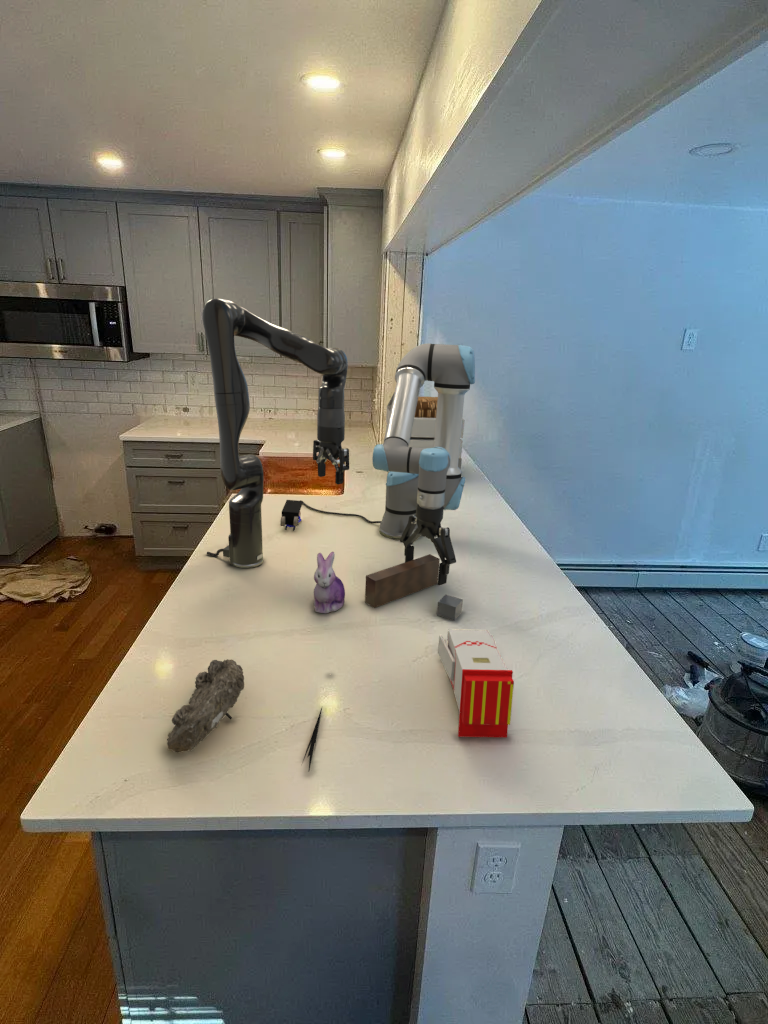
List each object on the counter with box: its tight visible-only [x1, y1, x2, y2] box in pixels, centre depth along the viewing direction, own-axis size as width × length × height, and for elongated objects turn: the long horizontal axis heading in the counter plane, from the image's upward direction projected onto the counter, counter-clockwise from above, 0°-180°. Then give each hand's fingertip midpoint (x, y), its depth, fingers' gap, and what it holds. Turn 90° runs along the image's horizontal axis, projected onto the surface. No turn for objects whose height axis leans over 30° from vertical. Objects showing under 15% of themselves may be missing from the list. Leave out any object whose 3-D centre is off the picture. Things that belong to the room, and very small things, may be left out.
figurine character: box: [279, 499, 304, 532], centre depth 202 cm, size 7×8×15 cm
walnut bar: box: [364, 553, 441, 609], centre depth 157 cm, size 24×4×8 cm, turn 131°
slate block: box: [436, 593, 464, 621], centre depth 148 cm, size 5×5×4 cm
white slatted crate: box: [385, 393, 465, 471], centre depth 268 cm, size 34×33×41 cm
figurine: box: [313, 551, 346, 614], centre depth 147 cm, size 9×10×15 cm
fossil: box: [166, 658, 245, 754], centre depth 106 cm, size 22×10×15 cm
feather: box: [301, 673, 332, 771], centre depth 108 cm, size 2×28×2 cm
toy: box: [437, 628, 515, 738], centre depth 117 cm, size 12×13×30 cm
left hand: (330, 480), depth 161 cm, fingers open, 8 cm apart
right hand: (424, 575), depth 163 cm, fingers open, 13 cm apart
